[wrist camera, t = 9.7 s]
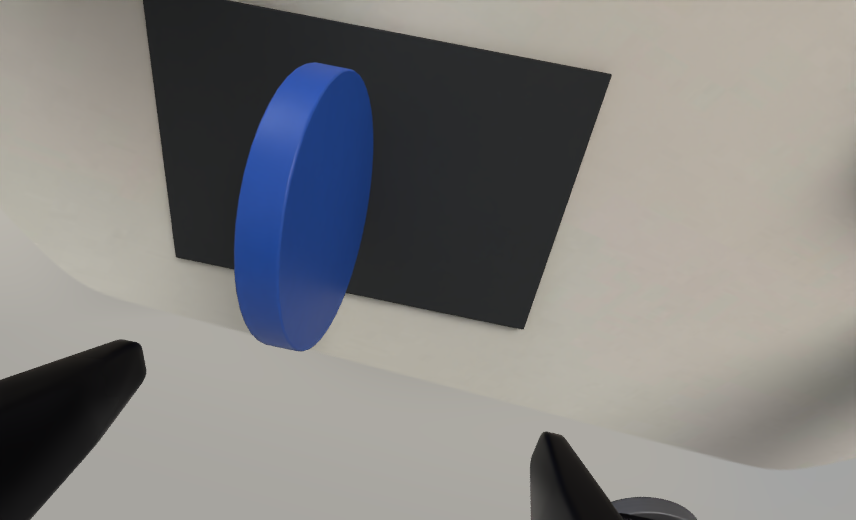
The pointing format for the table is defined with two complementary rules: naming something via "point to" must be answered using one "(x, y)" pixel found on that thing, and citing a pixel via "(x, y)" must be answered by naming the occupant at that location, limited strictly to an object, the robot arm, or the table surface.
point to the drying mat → (382, 148)
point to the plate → (303, 205)
